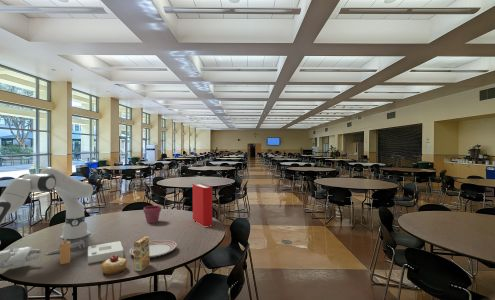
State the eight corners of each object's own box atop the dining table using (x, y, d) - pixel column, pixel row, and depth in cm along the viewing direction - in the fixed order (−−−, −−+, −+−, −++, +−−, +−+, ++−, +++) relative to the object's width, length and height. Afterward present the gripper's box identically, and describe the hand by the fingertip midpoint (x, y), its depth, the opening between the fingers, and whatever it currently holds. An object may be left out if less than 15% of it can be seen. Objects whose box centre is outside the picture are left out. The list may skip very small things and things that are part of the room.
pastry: (125, 265, 150) (126, 248, 151) (127, 273, 140) (127, 255, 140) (101, 268, 145) (101, 252, 145) (101, 277, 134) (101, 259, 135)
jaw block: (60, 261, 154) (60, 238, 154) (70, 259, 156) (70, 237, 156) (60, 264, 150) (59, 240, 150) (69, 262, 153) (69, 239, 152)
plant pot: (152, 219, 245) (152, 204, 245) (164, 220, 239) (164, 206, 239) (140, 223, 232) (139, 208, 232) (152, 225, 226) (152, 209, 226)
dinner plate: (119, 260, 156) (119, 254, 156) (144, 243, 183) (144, 238, 183) (165, 262, 152) (165, 256, 152) (183, 245, 180) (183, 240, 180)
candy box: (141, 271, 141) (140, 242, 141) (133, 271, 141) (133, 241, 141) (149, 264, 150) (149, 236, 149) (142, 264, 150) (142, 236, 150)
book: (192, 220, 241) (192, 183, 241) (201, 218, 245) (201, 183, 245) (203, 227, 218) (203, 187, 217) (213, 226, 222) (212, 187, 221)
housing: (88, 252, 167) (87, 245, 167) (120, 247, 176) (120, 240, 176) (87, 263, 151) (87, 255, 151) (123, 256, 160) (123, 249, 160)
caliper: (84, 248, 175) (84, 238, 175) (84, 248, 174) (84, 238, 174) (45, 255, 164) (45, 244, 164) (45, 255, 163) (45, 245, 163)
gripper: (0, 260, 132) (36, 254, 139) (10, 246, 149) (42, 242, 156) (0, 273, 132) (36, 266, 139) (11, 258, 149) (42, 253, 156)
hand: (39, 253), depth 148 cm, fingers open, 8 cm apart
